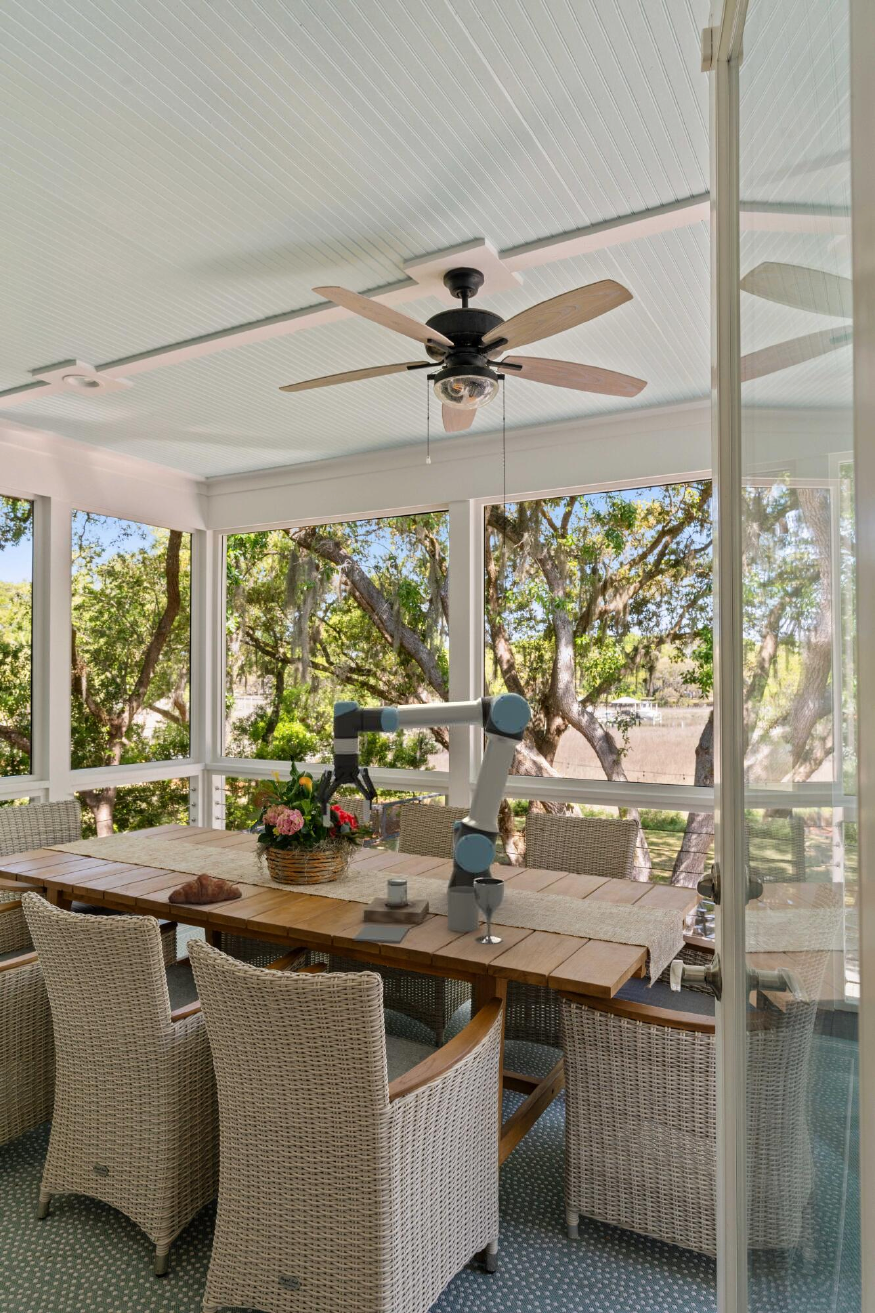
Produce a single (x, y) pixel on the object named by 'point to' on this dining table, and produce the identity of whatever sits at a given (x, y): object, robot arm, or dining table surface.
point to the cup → (462, 909)
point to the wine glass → (489, 903)
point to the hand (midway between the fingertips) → (346, 824)
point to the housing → (396, 911)
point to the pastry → (204, 891)
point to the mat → (381, 934)
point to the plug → (397, 893)
